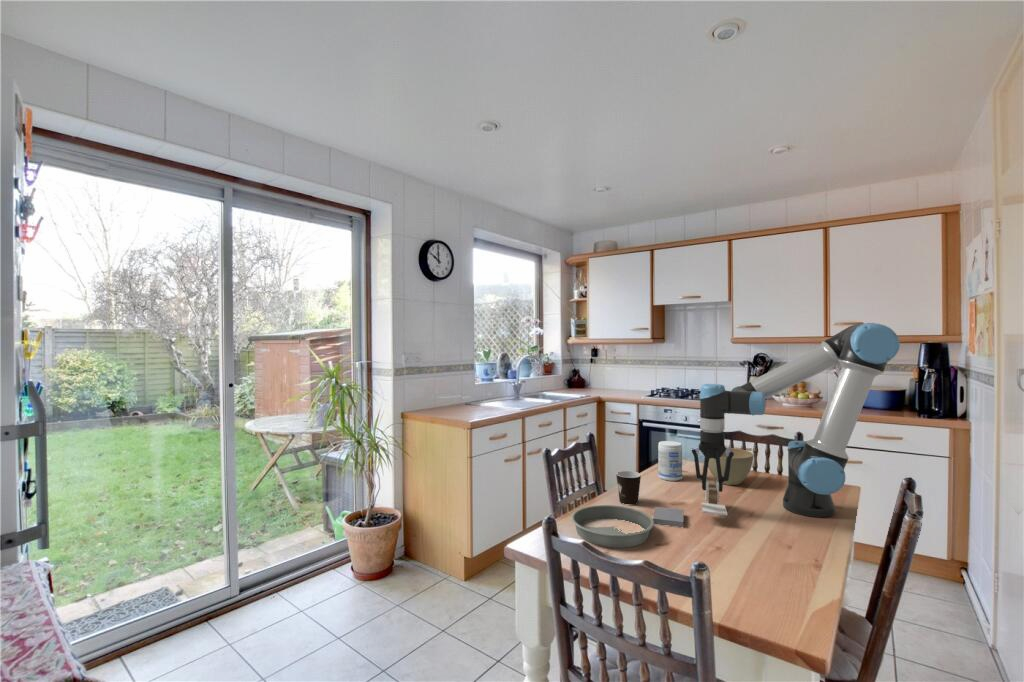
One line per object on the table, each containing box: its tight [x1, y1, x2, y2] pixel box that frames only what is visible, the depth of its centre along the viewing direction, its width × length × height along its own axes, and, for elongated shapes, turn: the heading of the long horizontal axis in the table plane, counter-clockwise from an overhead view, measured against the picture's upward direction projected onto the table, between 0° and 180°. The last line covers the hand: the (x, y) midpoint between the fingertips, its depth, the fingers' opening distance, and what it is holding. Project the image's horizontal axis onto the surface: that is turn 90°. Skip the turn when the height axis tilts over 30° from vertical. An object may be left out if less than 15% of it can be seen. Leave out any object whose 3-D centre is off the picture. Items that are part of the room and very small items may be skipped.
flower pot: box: [708, 447, 754, 486], centre depth 193 cm, size 18×18×12 cm
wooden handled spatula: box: [701, 479, 728, 517], centre depth 159 cm, size 20×7×5 cm, turn 161°
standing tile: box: [652, 506, 685, 528], centre depth 155 cm, size 2×9×11 cm
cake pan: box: [570, 504, 655, 548], centre depth 146 cm, size 25×25×4 cm
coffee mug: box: [615, 470, 642, 505], centre depth 173 cm, size 12×9×10 cm
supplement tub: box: [657, 440, 683, 482], centre depth 200 cm, size 10×10×15 cm
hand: (712, 500), depth 161 cm, fingers closed on wooden handled spatula, 2 cm apart
